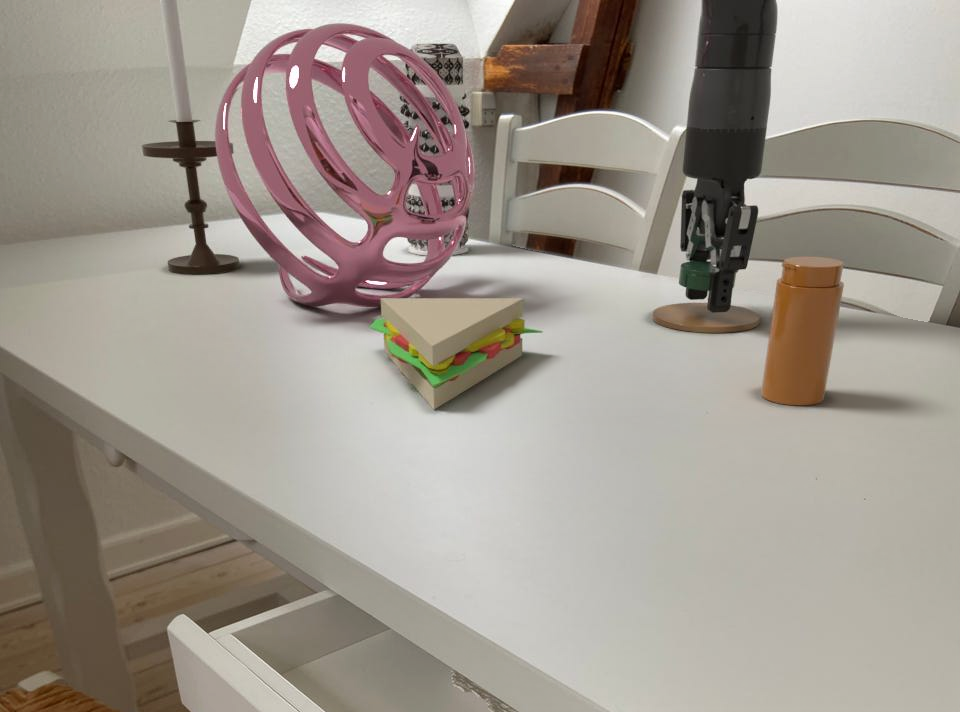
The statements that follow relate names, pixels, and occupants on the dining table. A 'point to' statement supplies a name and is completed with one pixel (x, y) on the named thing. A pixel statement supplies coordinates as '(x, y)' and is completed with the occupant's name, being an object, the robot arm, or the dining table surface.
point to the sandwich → (450, 340)
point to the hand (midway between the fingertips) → (706, 304)
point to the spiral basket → (384, 137)
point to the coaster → (705, 318)
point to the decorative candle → (451, 72)
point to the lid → (696, 275)
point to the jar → (802, 330)
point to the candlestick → (187, 155)
